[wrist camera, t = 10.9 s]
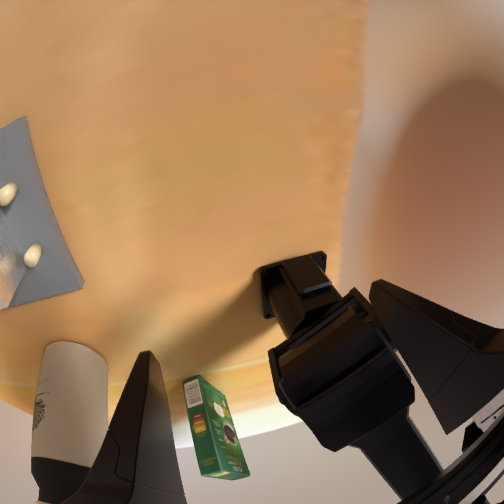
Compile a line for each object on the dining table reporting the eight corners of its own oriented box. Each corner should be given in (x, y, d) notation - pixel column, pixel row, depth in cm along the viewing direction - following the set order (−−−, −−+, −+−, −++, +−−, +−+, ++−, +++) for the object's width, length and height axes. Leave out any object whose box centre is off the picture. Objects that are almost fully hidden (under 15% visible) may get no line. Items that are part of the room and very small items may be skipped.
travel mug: (122, 367, 26) (139, 522, 12) (81, 384, 26) (87, 517, 12) (70, 328, 21) (61, 512, 7) (33, 351, 21) (20, 499, 7)
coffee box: (178, 380, 30) (199, 478, 19) (198, 372, 30) (224, 473, 20) (208, 401, 35) (231, 481, 24) (225, 394, 35) (252, 475, 24)
